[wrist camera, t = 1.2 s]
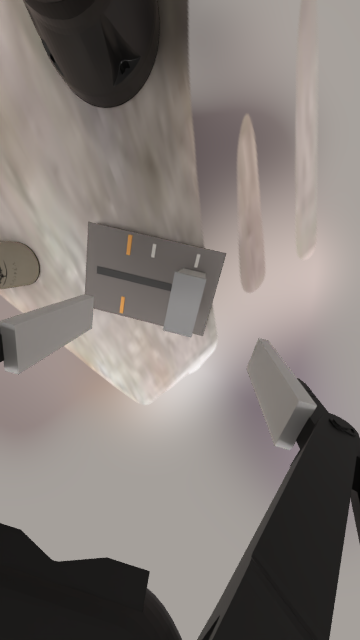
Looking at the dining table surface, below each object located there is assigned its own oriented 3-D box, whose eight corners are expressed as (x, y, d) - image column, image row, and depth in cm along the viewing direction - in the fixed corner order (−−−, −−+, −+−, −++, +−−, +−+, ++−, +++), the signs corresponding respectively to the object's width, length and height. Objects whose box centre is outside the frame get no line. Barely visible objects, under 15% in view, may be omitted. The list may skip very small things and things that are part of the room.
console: (93, 302, 37) (83, 306, 34) (98, 224, 33) (87, 221, 30) (203, 329, 36) (202, 336, 33) (224, 253, 32) (226, 253, 29)
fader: (174, 310, 32) (163, 330, 24) (183, 267, 30) (174, 271, 21) (195, 315, 32) (191, 337, 23) (206, 272, 30) (206, 279, 21)
